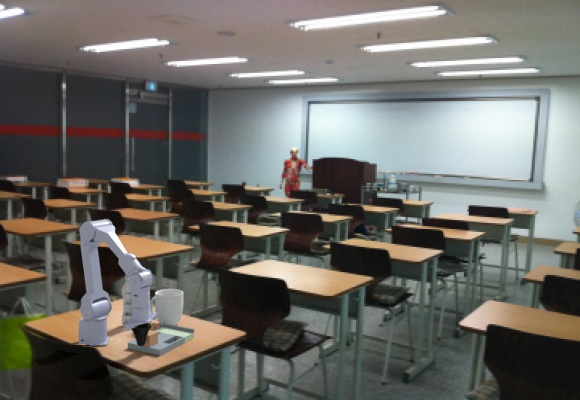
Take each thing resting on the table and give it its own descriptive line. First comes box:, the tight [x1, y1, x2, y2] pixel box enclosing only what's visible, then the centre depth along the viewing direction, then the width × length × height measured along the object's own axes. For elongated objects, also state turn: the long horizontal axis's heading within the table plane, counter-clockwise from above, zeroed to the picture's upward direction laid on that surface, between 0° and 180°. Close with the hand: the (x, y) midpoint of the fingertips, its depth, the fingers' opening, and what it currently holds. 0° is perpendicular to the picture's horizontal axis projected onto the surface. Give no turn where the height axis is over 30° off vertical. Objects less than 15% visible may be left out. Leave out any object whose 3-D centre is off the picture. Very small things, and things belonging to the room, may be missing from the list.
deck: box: [127, 323, 195, 356], centre depth 193 cm, size 20×14×3 cm
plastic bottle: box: [121, 275, 132, 326], centre depth 210 cm, size 6×7×20 cm
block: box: [143, 329, 158, 347], centre depth 186 cm, size 4×4×4 cm
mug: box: [150, 288, 184, 327], centre depth 214 cm, size 15×11×13 cm
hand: (140, 345), depth 183 cm, fingers closed
